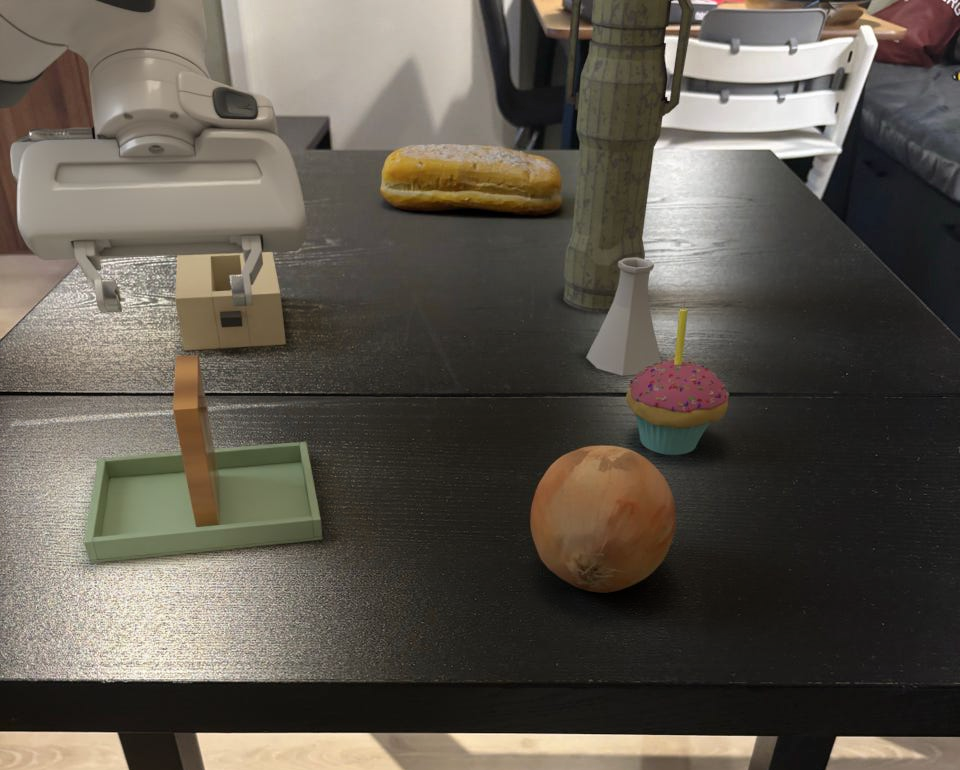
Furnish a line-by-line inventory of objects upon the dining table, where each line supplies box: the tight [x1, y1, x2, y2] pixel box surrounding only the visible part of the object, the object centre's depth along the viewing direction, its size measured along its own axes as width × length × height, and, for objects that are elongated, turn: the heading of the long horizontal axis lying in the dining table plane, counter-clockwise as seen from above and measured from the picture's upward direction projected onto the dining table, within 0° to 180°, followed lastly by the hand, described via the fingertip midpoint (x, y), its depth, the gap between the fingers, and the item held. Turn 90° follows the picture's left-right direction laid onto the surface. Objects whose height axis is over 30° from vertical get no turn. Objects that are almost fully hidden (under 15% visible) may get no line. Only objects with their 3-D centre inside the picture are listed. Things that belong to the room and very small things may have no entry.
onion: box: [529, 445, 677, 594], centre depth 63 cm, size 10×10×10 cm
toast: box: [172, 354, 220, 527], centre depth 68 cm, size 9×2×10 cm, turn 13°
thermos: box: [562, 0, 695, 314], centre depth 98 cm, size 9×12×35 cm
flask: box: [585, 257, 662, 377], centre depth 92 cm, size 7×7×10 cm
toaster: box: [174, 252, 287, 352], centre depth 97 cm, size 16×10×6 cm, turn 13°
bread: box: [379, 143, 563, 217], centre depth 136 cm, size 13×26×8 cm, turn 91°
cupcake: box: [625, 298, 730, 456], centre depth 78 cm, size 9×8×12 cm
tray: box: [83, 441, 324, 564], centre depth 71 cm, size 16×12×2 cm
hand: (177, 306), depth 69 cm, fingers open, 8 cm apart
